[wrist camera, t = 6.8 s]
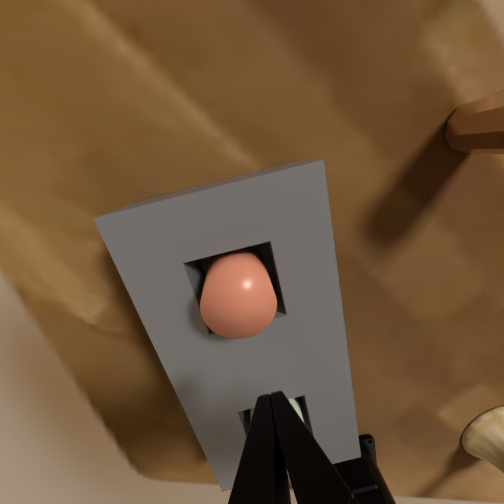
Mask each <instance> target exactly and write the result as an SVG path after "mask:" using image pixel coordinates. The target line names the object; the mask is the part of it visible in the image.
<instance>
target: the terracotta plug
mask: <svg viewBox="0 0 504 504" xmlns="http://www.w3.org/2000/svg"><path fill="white" fill-rule="evenodd" d="M276 309H277V299H276V295H275V292H274V289H273V287H272V284H271V281H270V278H269V275H268V272H267V269H266V266H265V263H264V260H263V258H262V256H261V254H260V253H259V252H258V250H257V249H255V248H254V247H253V246H249V247H245V248H241V249H237V250H233V251H229V252H225V253H221V254H217V255H213V256H211V258H210V261H209V265H208V269H207V274H206V278H205V283H204V287H203V292H202V297H201V302H200V312H201V316H202V318H203V320H204V322H205V324H206V325H207V326H208V327H209V328H210V329H211V330H212V331H213V332H215V333H216V334H218V335H220V336H223V337H226V338H232V339H243V338H248V337H252V336H254V335H256V334H258V333H260V332H262V331H263V330H264V329H265V328H267V327H268V326H269V324H270V323H271V322H272V320H273V318H274V316H275V313H276Z"/></svg>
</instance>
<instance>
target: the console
mask: <svg viewBox="0 0 504 504" xmlns="http://www.w3.org/2000/svg"><path fill="white" fill-rule="evenodd" d="M93 219H94V221H95V223H96V225H97V227H98V230H99V232H100V234H101V236H102V238H103V240H104V242H105V244H106V246H107V249H108V251H109V253H110V255H111V257H112V259H113V261H114V263H115V265H116V268H117V270H118V272H119V274H120V276H121V278H122V280H123V282H124V284H125V287H126V289H127V291H128V293H129V295H130V297H131V299H132V301H133V304H134V306H135V308H136V310H137V312H138V314H139V316H140V318H141V320H142V323H143V325H144V327H145V329H146V331H147V333H148V335H149V337H150V339H151V342H152V344H153V346H154V348H155V350H156V352H157V354H158V356H159V358H160V361H161V363H162V365H163V367H164V369H165V371H166V373H167V375H168V377H169V380H170V382H171V384H172V386H173V388H174V390H175V392H176V394H177V397H178V399H179V401H180V403H181V405H182V407H183V409H184V411H185V413H186V416H187V418H188V420H189V422H190V424H191V426H192V428H193V430H194V432H195V435H196V437H197V439H198V441H199V443H200V445H201V447H202V449H203V451H204V454H205V456H206V458H207V460H208V462H209V464H210V466H211V468H212V470H213V473H214V475H215V477H216V479H217V481H218V483H219V485H220V487H221V489H222V491H227V490H231V489H232V487H233V484H234V480H235V476H236V473H237V469H238V466H239V462H240V458H241V455H242V451H243V447H244V444H245V440H246V437H247V433H248V429H249V426H250V422H251V417H250V409H251V408H255V404H256V400H257V398H258V396H260V395H264V394H271V393H272V392H276V391H279V390H281V391H283V393H284V394H285V396H286V397H287V398H288V399H291V398H295V397H297V399H298V403H299V406H300V410H301V413H302V417H303V420H304V423H305V425H306V426H307V428H308V429H309V431H310V432H311V434H312V435H313V437H314V438H315V440H316V441H317V442H318V444H319V445H320V447H321V448H322V450H323V451H324V453H325V454H326V456H327V457H328V459H329V460H330V461H331V463H332V464H335V463H339V462H343V461H347V460H351V459H355V458H359V457H361V452H360V444H359V436H358V428H357V420H356V412H355V404H354V396H353V388H352V381H351V373H350V365H349V357H348V349H347V341H346V333H345V325H344V317H343V309H342V301H341V293H340V285H339V277H338V269H337V261H336V253H335V246H334V238H333V230H332V222H331V214H330V206H329V198H328V190H327V182H326V174H325V166H324V160H306V161H296V162H292V163H288V164H284V165H280V166H276V167H272V168H268V169H264V170H260V171H256V172H252V173H248V174H244V175H240V176H236V177H232V178H229V179H225V180H221V181H217V182H213V183H209V184H205V185H201V186H197V187H193V188H189V189H185V190H181V191H177V192H173V193H169V194H165V195H162V196H158V197H154V198H150V199H146V200H142V201H138V202H134V203H130V204H128V205H125V206H123V207H120V208H118V209H115V210H112V211H110V212H107V213H105V214H102V215H100V216H97V217H95V218H93ZM249 246H253V247H254V248H255V249H257V250H258V252H259V253H260V254H261V256H262V258H263V260H264V263H265V266H266V269H267V272H268V275H269V278H270V281H271V284H272V287H273V289H274V292H275V295H276V299H277V309H276V313H275V316H274V318H273V320H272V322H271V323H270V324H269V326H268V327H267V328H265V329H264V330H263V331H262V332H260V333H258V334H256V335H254V336H252V337H248V338H243V339H232V338H226V337H223V336H220V335H218V334H216V333H215V332H213V331H212V330H211V329H210V328H209V327H208V326H207V325H206V324H205V322H204V320H203V318H202V316H201V312H200V302H201V297H202V292H203V287H204V283H205V278H206V274H207V269H208V265H209V261H210V258H211V256H213V255H217V254H221V253H225V252H229V251H233V250H237V249H241V248H245V247H249ZM287 473H288V471H287ZM288 475H289V474H288Z"/></svg>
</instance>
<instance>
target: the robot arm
mask: <svg viewBox="0 0 504 504" xmlns="http://www.w3.org/2000/svg"><path fill="white" fill-rule="evenodd" d="M359 444H360V452H361V457H359V458H355V459H351V460H347V461H343V462H339V463H335V464H332V463H331V461H330V460H329V459H328V457H327V456H326V454H325V453H324V451H323V450H322V448H321V447H320V445H319V444H318V442H317V441H316V440H315V438H314V437H313V435H312V434H311V432H310V431H309V429H308V428H307V426H306V425H305V423H304V422H303V420H302V419H301V418H300V416H299V415H298V413H297V412H296V410H295V409H294V407H293V406H292V404H291V403H290V401H289V400H288V398H287V397H286V396H285V394H284V393H283V391H281V390H279V391H276V392H272V393H271V394H264V395H260V396H258V398H257V400H256V404H255V408H254V411H253V415H252V419H251V422H250V426H249V429H248V433H247V437H246V440H245V444H244V447H243V451H242V455H241V458H240V462H239V466H238V469H237V473H236V476H235V480H234V484H233V487H232V491H231V495H230V498H229V502H228V504H291V500H290V490H289V481H288V474H289V477H290V480H291V484H292V487H293V490H294V493H295V497H296V500H297V503H298V504H396V503H395V501H394V499H393V497H392V495H391V493H390V491H389V489H388V487H387V485H386V482H385V480H384V478H383V476H382V474H381V472H380V470H379V468H378V466H377V462H376V451H375V441H374V438H373V437H372V435H365V436H361V437H359ZM287 471H288V473H287Z"/></svg>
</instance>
